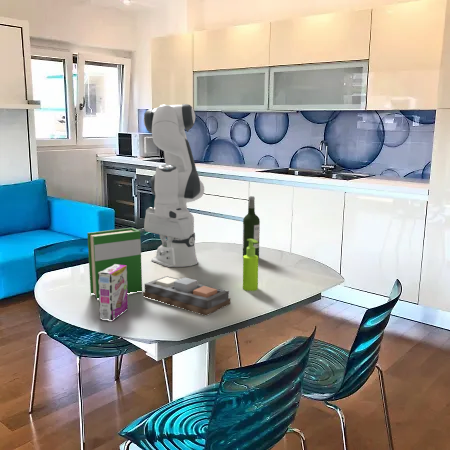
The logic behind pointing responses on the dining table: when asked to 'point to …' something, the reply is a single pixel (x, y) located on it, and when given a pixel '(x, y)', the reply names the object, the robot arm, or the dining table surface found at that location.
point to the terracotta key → (205, 291)
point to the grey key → (185, 284)
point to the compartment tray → (187, 298)
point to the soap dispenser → (250, 268)
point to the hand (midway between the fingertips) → (166, 247)
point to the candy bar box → (113, 291)
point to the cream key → (166, 282)
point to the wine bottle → (251, 227)
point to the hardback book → (115, 256)
